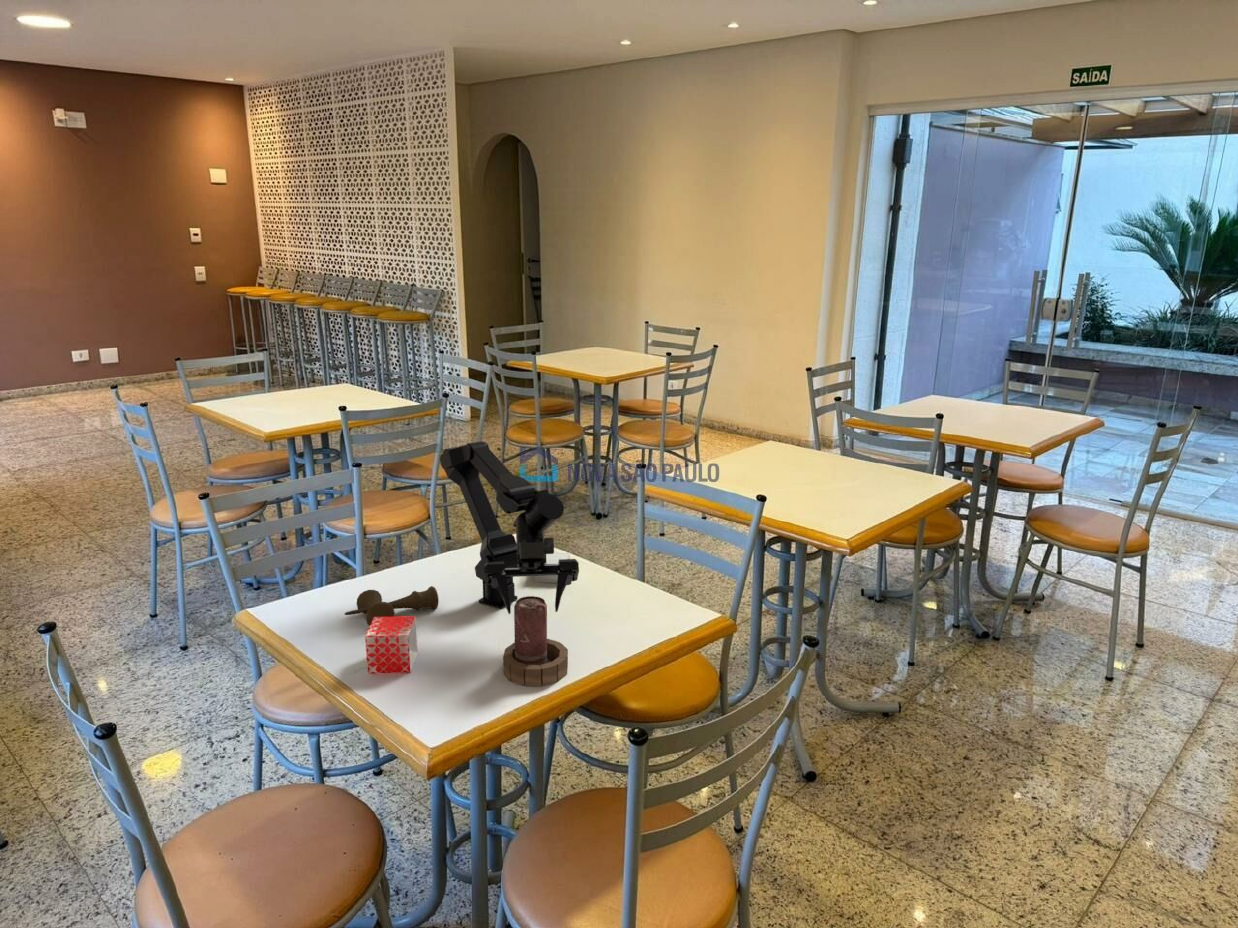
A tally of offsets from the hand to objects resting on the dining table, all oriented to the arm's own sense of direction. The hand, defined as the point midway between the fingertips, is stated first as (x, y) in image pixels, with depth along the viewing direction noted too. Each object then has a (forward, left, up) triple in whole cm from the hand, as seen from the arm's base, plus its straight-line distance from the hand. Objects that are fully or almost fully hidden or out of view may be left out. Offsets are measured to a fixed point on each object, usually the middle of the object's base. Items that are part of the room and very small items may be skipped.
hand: (533, 612), depth 160 cm
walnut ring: (+5, -6, -8) cm, 11 cm away
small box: (-18, +33, -9) cm, 39 cm away
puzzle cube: (-20, -18, -9) cm, 28 cm away
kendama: (-35, -3, -9) cm, 36 cm away
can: (+4, -6, -9) cm, 11 cm away
